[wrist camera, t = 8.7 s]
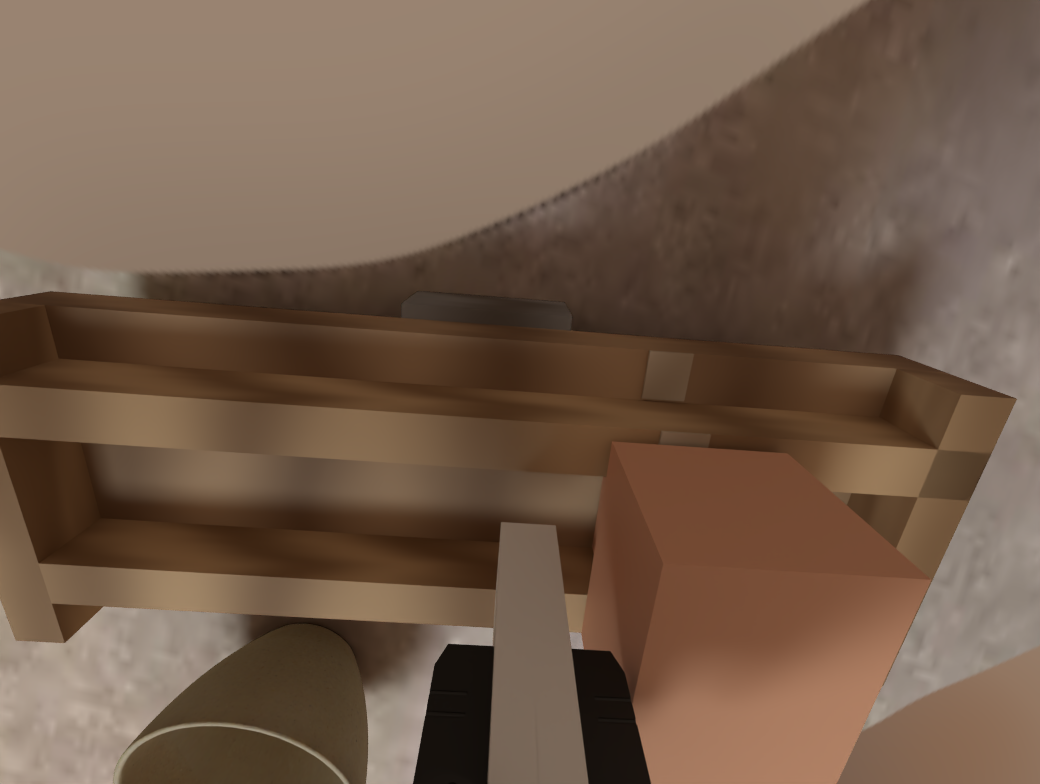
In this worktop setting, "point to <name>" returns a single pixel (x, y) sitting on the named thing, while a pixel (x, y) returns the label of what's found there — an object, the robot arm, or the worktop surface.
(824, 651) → the block
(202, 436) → the wooden crate
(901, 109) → the worktop surface
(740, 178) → the worktop surface
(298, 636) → the flower pot
